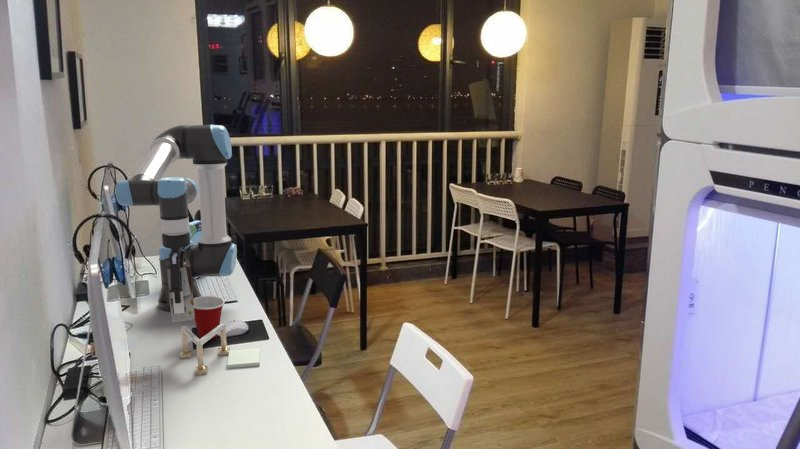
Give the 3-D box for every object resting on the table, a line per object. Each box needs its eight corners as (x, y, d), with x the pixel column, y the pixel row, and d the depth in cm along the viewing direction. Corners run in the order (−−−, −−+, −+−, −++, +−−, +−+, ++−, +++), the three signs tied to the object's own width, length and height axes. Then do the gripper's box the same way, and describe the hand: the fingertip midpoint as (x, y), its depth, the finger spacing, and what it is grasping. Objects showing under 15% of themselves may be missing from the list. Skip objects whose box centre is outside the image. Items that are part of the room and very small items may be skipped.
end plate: (229, 353, 191) (229, 350, 190) (260, 351, 192) (259, 348, 192) (227, 368, 181) (227, 365, 181) (259, 365, 183) (259, 362, 183)
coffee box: (195, 319, 183) (191, 266, 180) (172, 323, 181) (167, 269, 177) (192, 309, 192) (188, 258, 188) (170, 312, 189) (165, 260, 186)
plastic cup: (217, 344, 197) (214, 307, 195) (185, 341, 199) (182, 305, 197) (232, 331, 208) (230, 296, 205) (202, 328, 210) (199, 294, 207)
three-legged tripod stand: (181, 354, 190) (178, 325, 188) (230, 350, 193) (228, 321, 191) (174, 376, 176) (171, 345, 174) (227, 372, 179) (225, 341, 177)
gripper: (167, 224, 191) (173, 294, 196) (155, 242, 169) (162, 321, 174) (193, 223, 192) (199, 293, 197) (184, 241, 171) (190, 319, 176)
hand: (181, 306), depth 186 cm, fingers closed on coffee box, 10 cm apart
